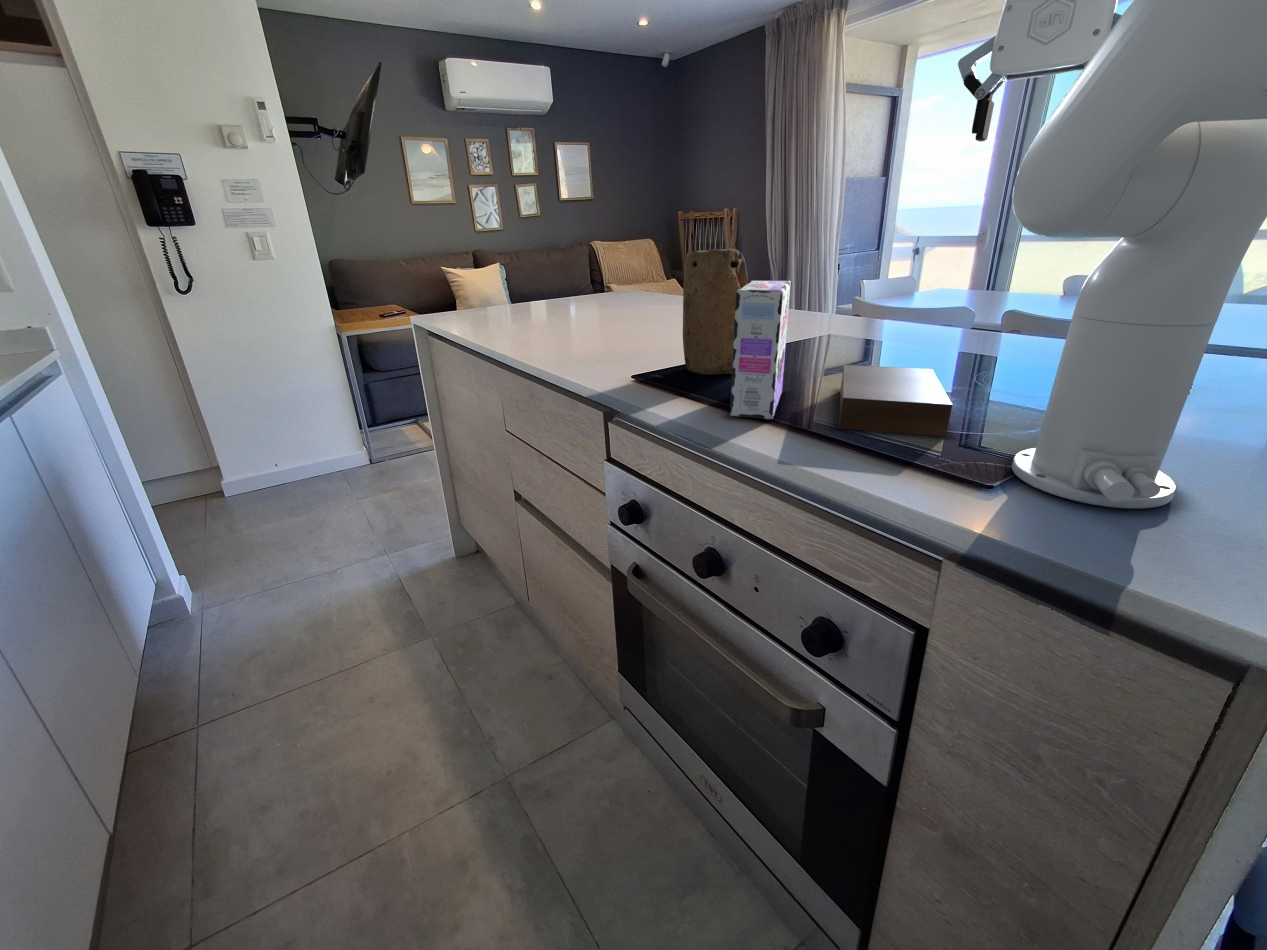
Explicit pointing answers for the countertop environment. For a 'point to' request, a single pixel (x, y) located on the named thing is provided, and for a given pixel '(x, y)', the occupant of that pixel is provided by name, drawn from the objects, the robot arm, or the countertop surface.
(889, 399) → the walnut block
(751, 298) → the candy box
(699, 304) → the block
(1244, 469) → the countertop surface
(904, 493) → the countertop surface
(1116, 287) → the robot arm
